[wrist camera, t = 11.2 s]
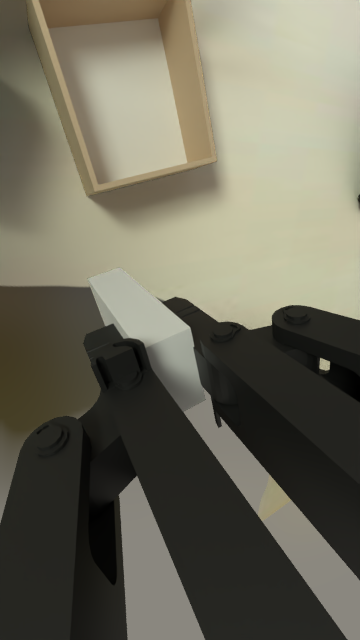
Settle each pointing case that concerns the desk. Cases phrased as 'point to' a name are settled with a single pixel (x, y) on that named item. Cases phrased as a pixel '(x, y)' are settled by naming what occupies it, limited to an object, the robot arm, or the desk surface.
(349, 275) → the desk surface
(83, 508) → the robot arm
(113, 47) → the box
